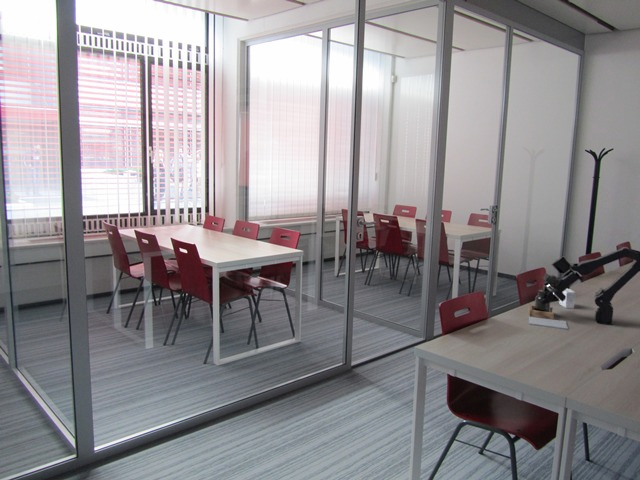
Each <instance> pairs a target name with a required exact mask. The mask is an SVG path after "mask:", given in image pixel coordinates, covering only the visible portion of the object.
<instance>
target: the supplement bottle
mask: <svg viewBox="0 0 640 480" xmlns="http://www.w3.org/2000/svg"><path fill="white" fill-rule="evenodd" d="M537 291H538V292H537V295H536V296H535V299H534V305H535V308H534V310H535V311H543V312H550V307H551V302H550V303H546V304H542V303H541V302H542V301H543V300H544V299H545V298H546V297H547V296H548V295H549V291H547V290H543V289H538V290H537Z"/></svg>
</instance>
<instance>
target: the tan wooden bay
mask: <svg viewBox="0 0 640 480" xmlns="http://www.w3.org/2000/svg"><path fill="white" fill-rule="evenodd" d="M534 308H535V304H529V306H528V315H529V316H528V317H536V318H544V319H552V320H555V319H554V318H555V317H554V316H555V312H553V307H552V306H550V312H543V311H535V310H534Z"/></svg>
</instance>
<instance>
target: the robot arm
mask: <svg viewBox="0 0 640 480" xmlns="http://www.w3.org/2000/svg"><path fill="white" fill-rule="evenodd" d="M623 258H629V259H631V260H633V261H632V263H631V264H630V265H629V267H627V269H626V270H624V271H623V272H622V273H621V274H620V275H619V276H618V277H617V278H616V279H615V280H614V281H613V282H612V283H611V284H610V285H608V286H607V287H605V288H603V286H602V287H600V288H599V290H597V291H596V292H595V295H594V304H595V305H596V306H597V309H596V310H595V313H594V321H595V322H596V323H597V324H602V325H611V326H613V317H614V316H613V315H614V306H613V303H611V302H612V300H613V298H614V297H615V296H616V294H617V293H618V292H619V291H620V290H621V289H622V288H623V287H624V286H625V285H626V284H628V282H630V281H631V279H633V278H634V277H635V276H636V275H637V274H638V273H639V272H640V250H636V249H632V248H628V247H627V246H623V247H620V248H619V249H616V250H614V251H612V252H608V253H607V254H604V255H601V256H599V257H597V258H593V259H587V260H582V261H579V262H578V263H577V262H576V263H570V262H569V260H567V259H566V257H565V256H564V255H563V256H561V257H559V258H557V259H555V260H554V261H553V262H551V264H550V265H551V266H552V267H553V268H554V269H555V270H556V271H557V272H558V273H559V274H563V275H562V276H556V275H554V274H552V275H551V274H549V273H548V272H546V273H544V275H543V277H542V279H543V280H544V282H543V281H542V284H543V285H542V287H543V289H542V290H547V291H549V295H548V296H547V297H546V298H545V299H544V300H543V301H542V302H541V303H542V304H546V303H550V304H551V303H555V302H559V301H560V300H561V301H564V300H565V299H566V296H565V295H564V294H563V293H562V292H563V291H564V290H566V289H567V288H568V289H570V288H571V286H573V284H575V283H577V282H578V281H579V282H581V283H584V276H587V275H589V274H591V273H593V272H594V271H596V270H597V269H599V268H600V267H602V266H605V265H608V264H611V263H613V262H616V261H618V260H621V259H623ZM570 290H571V289H570ZM559 299H560V300H559Z"/></svg>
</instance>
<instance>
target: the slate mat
mask: <svg viewBox="0 0 640 480" xmlns="http://www.w3.org/2000/svg"><path fill="white" fill-rule="evenodd" d="M528 324H529V325H532V326H539V327H546V328H555V329H562V330H569V328H568V325H567V321H565V320H557V319H545V318H537V317H530V316H528Z"/></svg>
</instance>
